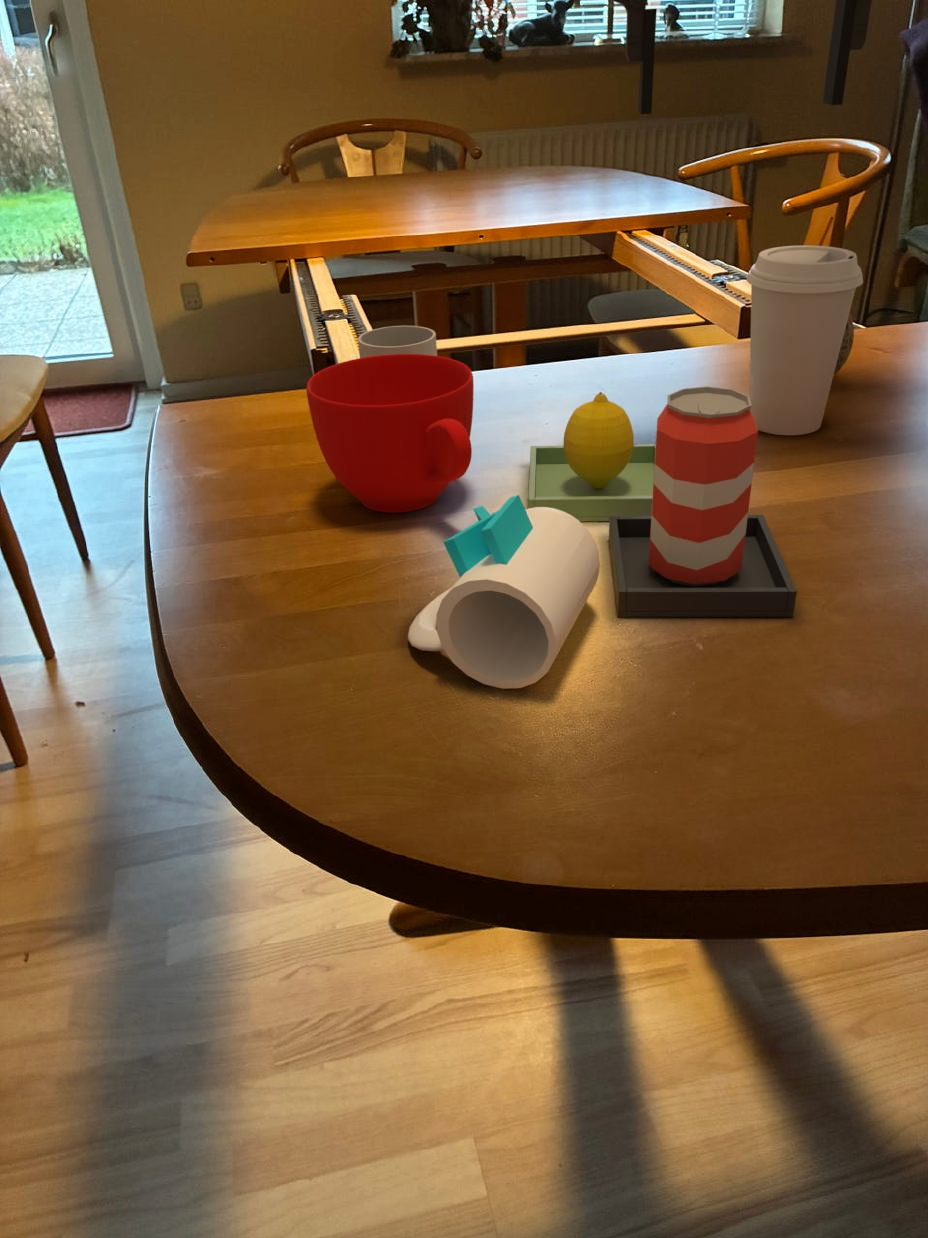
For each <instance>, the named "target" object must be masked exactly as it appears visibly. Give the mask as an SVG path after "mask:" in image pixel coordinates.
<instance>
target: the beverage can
mask: <svg viewBox="0 0 928 1238" xmlns="http://www.w3.org/2000/svg"><path fill="white" fill-rule="evenodd" d="M750 409H751V401H750V396H749V394H745V393H743V392H740V391H738V390H735V389H733V388H724V387H717V386H698V387H688V388H687V387H686V388H681V389H678V390H677V391H674V392H672V393H670V394H667V403H666V405H665V407H664V408H663V410H662V411H661V413H660V414H659V415H658V417H657V420H656V436H655V444H656V450H655V466H654V482H653V499H652V515H651V531H650V547H649V567H651V568H652V569H654V570H655V571H657V572H658V573H659V574H661V575H662V576H664V577H665V578H667V579H669V580H670V581H672V582H673V583H678V584H683V585H688V586H693V587H696V586H705V585H714V584H717V583H718V582H720V581H725V580H727V579H728V578H730V577H731V576H733V575H734V574H736V573H737V572H739V571H740V570H741V568H742V560H743V551H744V543H745V535H746V527H747V518H748V515H749V509H750V501H751V492H752V485H753V477H754V469H755V468H754V467H755V460H756V453H757V444H758V443H757V442H758V435H759V430H758V429H757V425H756V420H755V418H754V416H753V414H752V412H751V410H750Z"/></svg>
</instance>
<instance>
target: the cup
mask: <svg viewBox="0 0 928 1238" xmlns="http://www.w3.org/2000/svg"><path fill="white" fill-rule="evenodd" d="M357 344H358V345H357V346H358V355H359V358H364V357H371V356H379V355H391V354H424V355H433V356H438V349H437V332H435V330H433V329H431V328H429V327H424V326H418V325H392V326H384V327H379V328H375V329H371V330H367V331H365V332H363V333H362V334H360V335H359V336H358V337H357Z"/></svg>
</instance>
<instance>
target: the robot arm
mask: <svg viewBox="0 0 928 1238" xmlns="http://www.w3.org/2000/svg"><path fill="white" fill-rule="evenodd" d="M610 1H611V2H615V3H617V4H620V5H621V6H623V7H624V9H625V11H626V27H625V28H626V29H625V31H626V32H625V33H626V34H625V56H626V59H627V62H639V83H638V106H637V112H638V113H639V114H640V115H649V114H650V115H651V114H652V109H653V107H652V106H653V87H654V71H655V50H656V49H655V48H656V45H655V44H656V28H657V12H658V11H657V8H647V1H648V0H610ZM872 1H873V0H835V6H834V13H833V21H832V29H831V36H830V43H829V49H828V58H827V65H826V71H825V72H826V73H825V81H824V87H823V94H822V104H825V105H829V106H843V102H844V96H845V95H844V94H845V87H846V81H847V74H848V68H849V61H850V53H851V51H856V50H857V51H858V50H862V49H863V47H864V46H865V44H866V41H867V34H868V28H869V26H868V25H869V20H870V13H871V6H872Z"/></svg>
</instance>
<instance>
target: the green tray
mask: <svg viewBox="0 0 928 1238" xmlns="http://www.w3.org/2000/svg"><path fill="white" fill-rule="evenodd" d="M655 450H656V443H648V444H647V443H645V444H643V443H642V444H641V443H639V444H637V443H636V444H635V443H634V448H633V453H632V456H631V458H630V460H629V462H628V464H627V465H626V467H625V468H624V469H623V471H622V472H621V473H620V474H619V475H618V476H616V477H615V478H613V479H612V480H611V481H610V482H609V484H608V485H607V486H606V487H605V488H602V489H595V488H593V487H592V486H591V485H590V484H589V483H588V482H587V481H585V480H584V479H582V478H581V477H580V476H578V475H577V474H576V473H575V472H574V471H573V470H572V469H571V467H570V466H569V464H568V462H567V460H566V456H565V453H564V446H563V445H531V446H530V451H529V452H530V453H529V474H528V497H527V509H529V508H534V507H548V508H554V509H558V510H561V511H564V512H566V513H568V514H570V515H572V516H573V517H574V518H576V519H577V520H579V521H580V522H609V519H610V516H616V517H617V516H651V515H652V499H653V482H654V466H655Z"/></svg>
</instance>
